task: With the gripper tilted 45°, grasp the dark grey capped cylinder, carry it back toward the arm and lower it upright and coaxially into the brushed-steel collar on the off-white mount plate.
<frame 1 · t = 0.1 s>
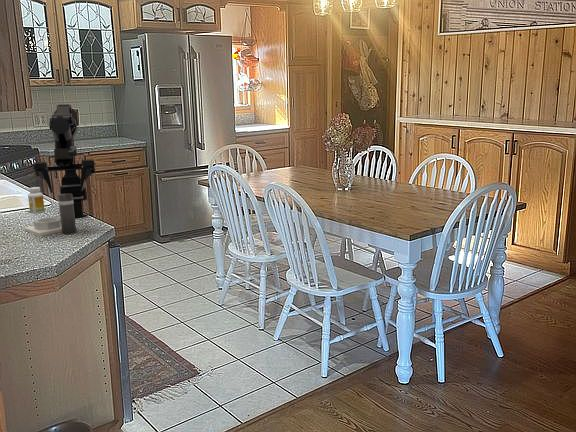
hand: (66, 191, 191), 15 cm above the kitchen counter, tool tilted 35°, fingers open, 9 cm apart
collar mount: (49, 229, 203), on the kitchen counter
supplement bottle: (37, 212, 233), on the kitchen counter
dark grey capped cylinder: (69, 232, 199), on the kitchen counter
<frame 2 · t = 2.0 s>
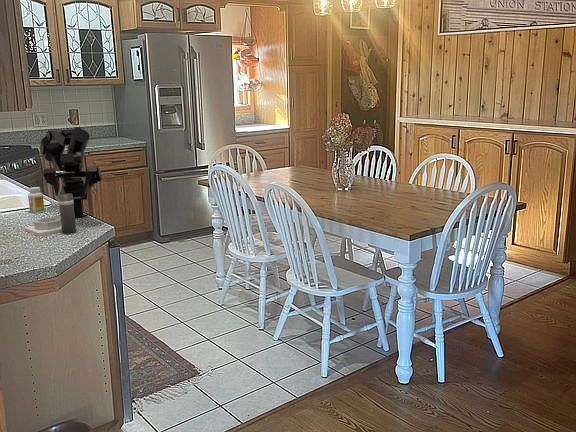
hand: (70, 194, 202), 12 cm above the kitchen counter, tool tilted 45°, fingers open, 9 cm apart
nothing on the kitchen counter moved.
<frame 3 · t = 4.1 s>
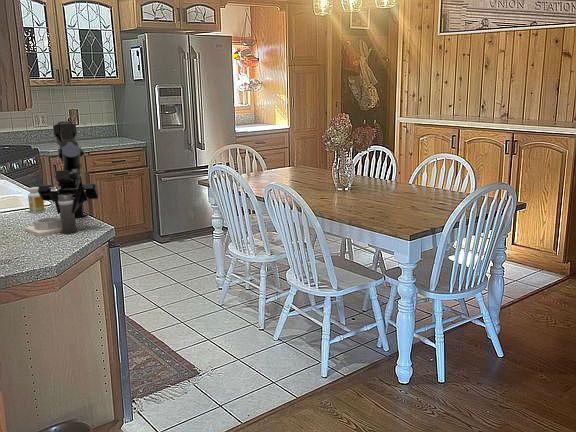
hand: (65, 212, 196), 7 cm above the kitchen counter, tool tilted 45°, fingers closed on dark grey capped cylinder, 4 cm apart
dark grey capped cylinder: (69, 232, 199), on the kitchen counter, touching gripper
everything else where it was.
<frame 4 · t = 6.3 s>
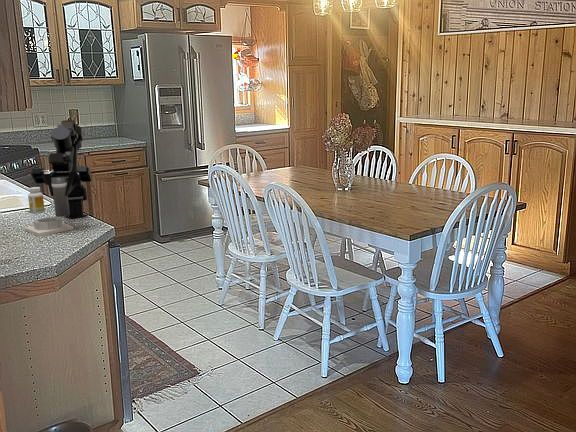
hand: (59, 195, 196), 13 cm above the kitchen counter, tool tilted 45°, fingers closed on dark grey capped cylinder, 4 cm apart
dark grey capped cylinder: (62, 215, 199), point 6 cm above the kitchen counter, touching gripper
everything else where it was.
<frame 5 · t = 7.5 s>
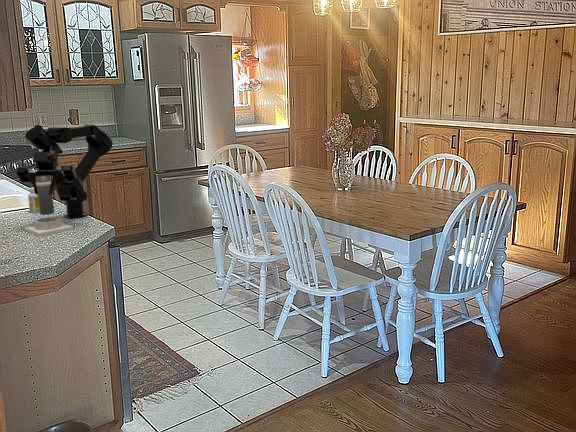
hand: (43, 193, 199), 13 cm above the kitchen counter, tool tilted 45°, fingers closed on dark grey capped cylinder, 4 cm apart
dark grey capped cylinder: (47, 213, 202), point 6 cm above the kitchen counter, touching gripper
everything else where it was.
when the fingers open (9 cm above the kitchen counter, at t = 8.6 s): dark grey capped cylinder drops 1 cm, resting on collar mount.
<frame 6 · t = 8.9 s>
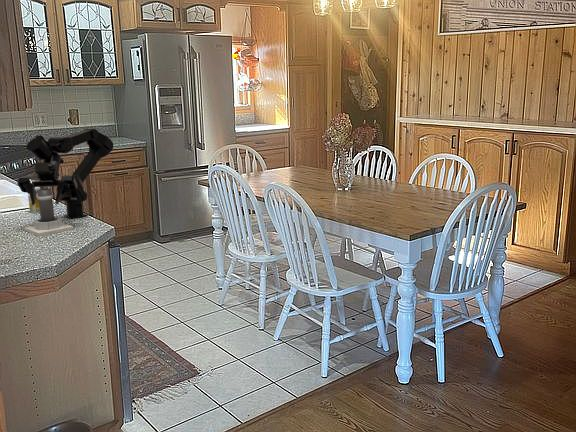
hand: (44, 204, 200), 9 cm above the kitchen counter, tool tilted 45°, fingers open, 7 cm apart
dark grey capped cylinder: (48, 226, 203), point 1 cm above the kitchen counter, touching collar mount
everything else where it was.
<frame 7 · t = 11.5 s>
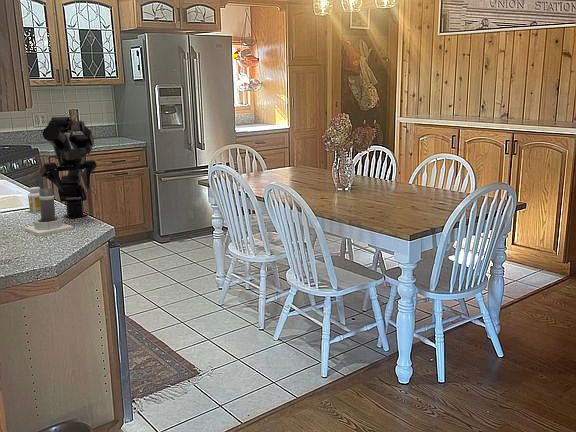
hand: (75, 190, 206), 13 cm above the kitchen counter, tool tilted 30°, fingers open, 9 cm apart
nothing on the kitchen counter moved.
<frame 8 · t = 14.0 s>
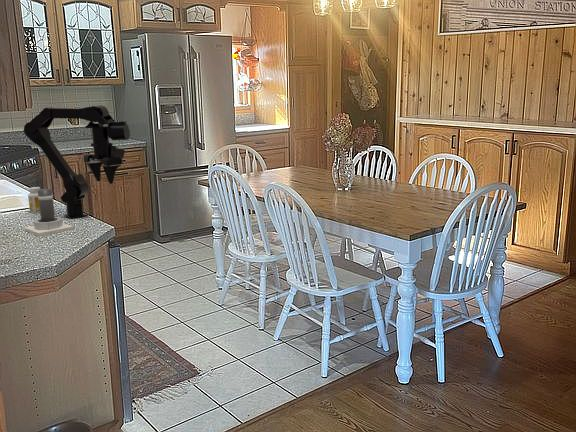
hand: (104, 182, 219), 13 cm above the kitchen counter, tool pointing down, fingers open, 9 cm apart
nothing on the kitchen counter moved.
at the end: dark grey capped cylinder 0.1 cm off-centre on the collar mount, point 1.0 cm above the collar mount's base; dark grey capped cylinder tilted 0°; the gripper is holding nothing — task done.
